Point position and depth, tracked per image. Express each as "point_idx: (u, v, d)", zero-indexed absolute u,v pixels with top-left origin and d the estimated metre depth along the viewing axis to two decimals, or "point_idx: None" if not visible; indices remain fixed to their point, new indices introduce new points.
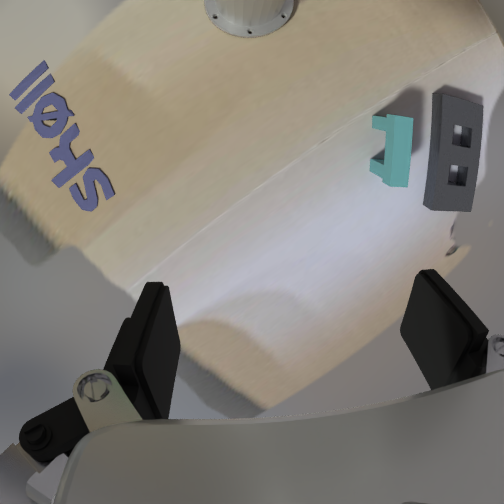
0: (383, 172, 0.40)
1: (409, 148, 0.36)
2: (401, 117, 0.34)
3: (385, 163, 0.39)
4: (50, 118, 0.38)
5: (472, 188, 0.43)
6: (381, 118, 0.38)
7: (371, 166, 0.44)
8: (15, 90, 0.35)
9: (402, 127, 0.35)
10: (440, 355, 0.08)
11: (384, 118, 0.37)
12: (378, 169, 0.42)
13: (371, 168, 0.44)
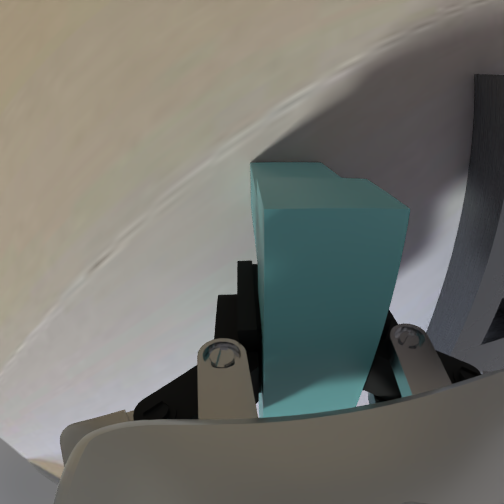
0: None
1: (361, 364, 0.08)
2: (321, 219, 0.06)
3: None
4: None
5: None
6: None
7: None
8: None
9: (325, 279, 0.06)
10: None
11: (255, 195, 0.09)
12: None
13: None
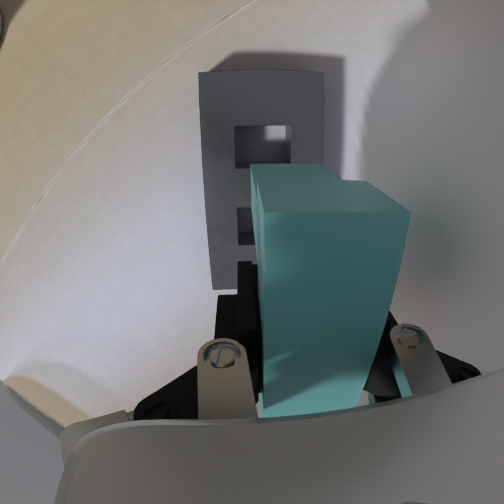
0: None
1: (361, 366, 0.08)
2: (321, 222, 0.06)
3: None
4: None
5: None
6: (254, 190, 0.10)
7: None
8: None
9: (325, 282, 0.06)
10: None
11: (255, 198, 0.09)
12: None
13: None
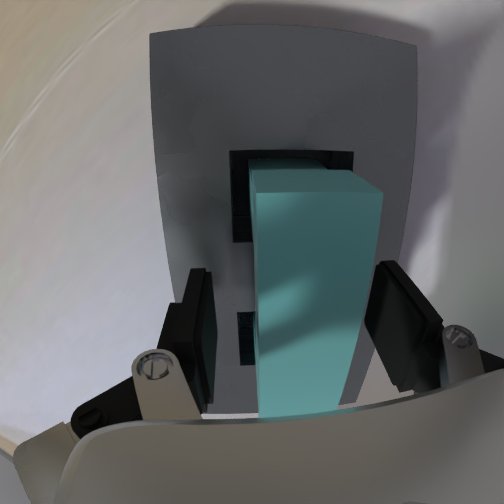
0: None
1: (348, 337, 0.09)
2: (305, 201, 0.07)
3: None
4: None
5: (359, 358, 0.16)
6: (250, 181, 0.11)
7: None
8: None
9: (310, 254, 0.07)
10: (397, 344, 0.09)
11: (251, 186, 0.10)
12: None
13: None
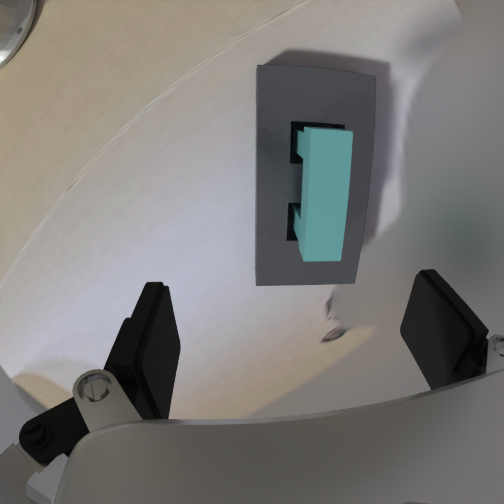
0: (299, 232, 0.25)
1: (344, 191, 0.21)
2: (326, 132, 0.19)
3: (301, 217, 0.24)
4: None
5: (354, 242, 0.28)
6: (300, 134, 0.23)
7: (292, 215, 0.29)
8: None
9: (328, 151, 0.20)
10: (440, 355, 0.08)
11: (302, 134, 0.22)
12: (296, 224, 0.27)
13: (292, 218, 0.29)
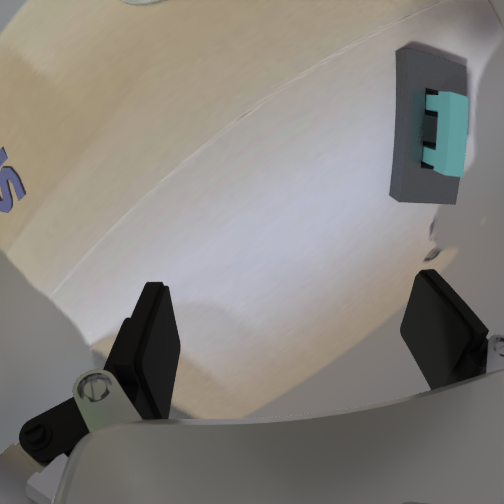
0: (435, 159, 0.31)
1: (465, 131, 0.27)
2: (457, 95, 0.25)
3: (438, 148, 0.30)
4: None
5: None
6: (430, 96, 0.29)
7: None
8: None
9: (458, 106, 0.26)
10: (440, 355, 0.08)
11: (435, 96, 0.28)
12: (427, 155, 0.33)
13: None
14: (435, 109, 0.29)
